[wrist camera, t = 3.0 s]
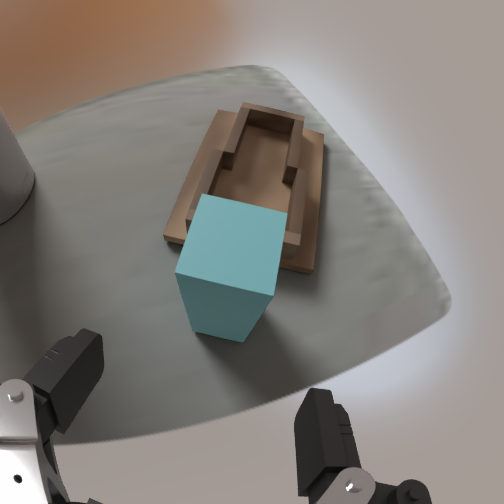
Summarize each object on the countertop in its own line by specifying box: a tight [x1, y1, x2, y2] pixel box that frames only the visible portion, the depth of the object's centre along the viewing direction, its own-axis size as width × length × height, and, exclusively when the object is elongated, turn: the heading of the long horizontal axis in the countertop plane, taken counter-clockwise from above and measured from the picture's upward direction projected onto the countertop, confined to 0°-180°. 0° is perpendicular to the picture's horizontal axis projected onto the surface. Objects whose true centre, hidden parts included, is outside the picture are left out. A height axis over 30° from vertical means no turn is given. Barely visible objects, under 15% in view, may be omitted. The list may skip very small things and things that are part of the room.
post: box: [175, 194, 287, 343], centre depth 18 cm, size 4×4×12 cm
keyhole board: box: [163, 102, 324, 274], centre depth 28 cm, size 13×18×4 cm
